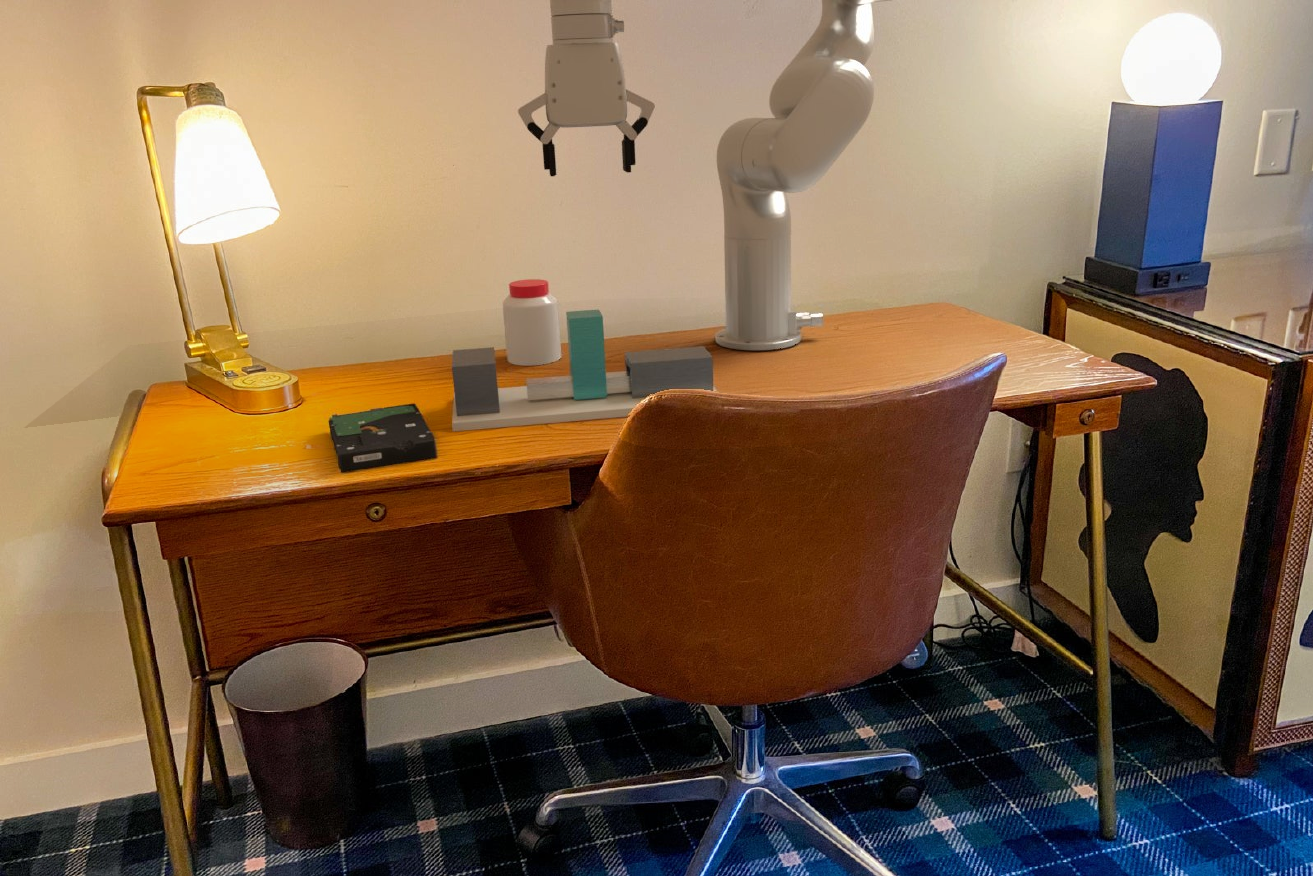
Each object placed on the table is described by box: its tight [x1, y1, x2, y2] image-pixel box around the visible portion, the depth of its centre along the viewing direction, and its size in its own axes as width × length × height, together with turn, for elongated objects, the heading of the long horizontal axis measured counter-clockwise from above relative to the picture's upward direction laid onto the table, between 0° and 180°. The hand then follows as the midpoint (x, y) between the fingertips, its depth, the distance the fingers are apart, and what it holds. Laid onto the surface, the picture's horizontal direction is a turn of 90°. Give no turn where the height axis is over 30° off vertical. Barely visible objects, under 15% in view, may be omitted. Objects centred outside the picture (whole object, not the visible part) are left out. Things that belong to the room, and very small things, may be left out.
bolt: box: [525, 309, 631, 400], centre depth 130 cm, size 21×4×10 cm, turn 99°
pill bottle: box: [502, 278, 562, 367], centre depth 151 cm, size 8×8×11 cm
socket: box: [451, 346, 500, 416], centre depth 128 cm, size 5×8×6 cm, turn 9°
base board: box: [451, 385, 718, 432], centre depth 131 cm, size 32×13×1 cm, turn 99°
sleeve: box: [624, 345, 714, 399], centre depth 131 cm, size 10×6×4 cm, turn 99°
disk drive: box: [328, 403, 438, 474], centre depth 119 cm, size 10×3×15 cm
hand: (590, 173), depth 138 cm, fingers open, 9 cm apart
